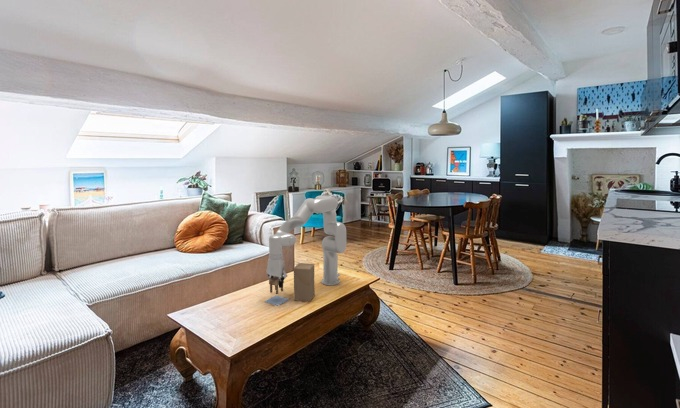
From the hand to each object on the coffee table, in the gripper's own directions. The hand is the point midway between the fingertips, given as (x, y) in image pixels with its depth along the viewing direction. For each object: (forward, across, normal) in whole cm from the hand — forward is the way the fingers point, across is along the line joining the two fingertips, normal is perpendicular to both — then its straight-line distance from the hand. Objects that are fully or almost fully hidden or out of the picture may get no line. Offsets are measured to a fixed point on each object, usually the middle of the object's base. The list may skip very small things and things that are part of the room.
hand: (276, 285), depth 203 cm
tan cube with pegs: (+4, 0, 0) cm, 4 cm away
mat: (+9, 0, 0) cm, 9 cm away
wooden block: (+10, +11, +12) cm, 19 cm away
